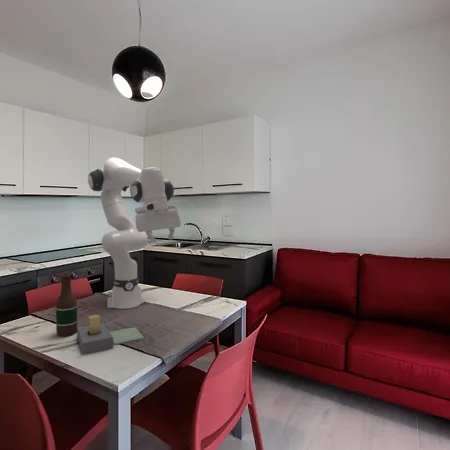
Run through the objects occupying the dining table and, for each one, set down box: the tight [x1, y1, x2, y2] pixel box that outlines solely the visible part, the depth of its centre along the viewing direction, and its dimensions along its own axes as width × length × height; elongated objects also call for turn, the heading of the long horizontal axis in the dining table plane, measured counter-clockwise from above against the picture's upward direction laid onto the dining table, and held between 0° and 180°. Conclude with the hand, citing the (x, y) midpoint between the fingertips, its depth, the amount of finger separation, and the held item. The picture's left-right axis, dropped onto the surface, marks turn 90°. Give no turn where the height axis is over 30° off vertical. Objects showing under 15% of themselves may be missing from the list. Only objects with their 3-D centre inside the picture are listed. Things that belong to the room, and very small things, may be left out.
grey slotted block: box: [76, 322, 114, 355], centre depth 118 cm, size 16×10×4 cm, turn 32°
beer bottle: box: [55, 273, 78, 338], centre depth 126 cm, size 8×8×24 cm
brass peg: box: [87, 314, 101, 336], centre depth 118 cm, size 4×4×10 cm
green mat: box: [109, 326, 145, 346], centre depth 124 cm, size 12×11×1 cm
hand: (162, 240), depth 126 cm, fingers open, 8 cm apart
